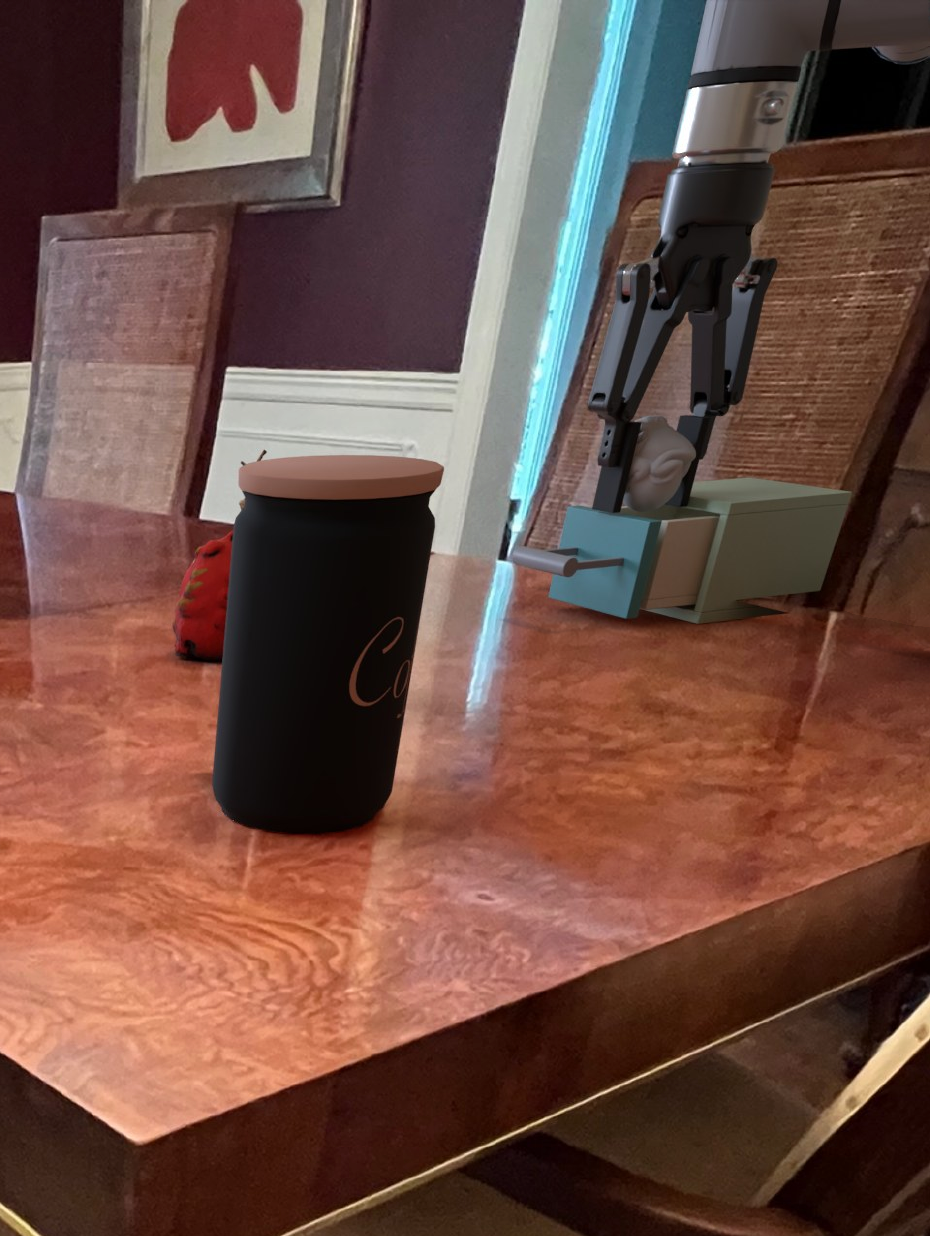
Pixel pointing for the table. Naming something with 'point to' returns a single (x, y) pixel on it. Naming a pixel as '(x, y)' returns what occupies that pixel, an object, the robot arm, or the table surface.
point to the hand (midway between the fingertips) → (639, 507)
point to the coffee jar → (320, 638)
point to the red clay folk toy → (205, 600)
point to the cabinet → (762, 545)
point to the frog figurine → (657, 464)
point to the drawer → (627, 558)
